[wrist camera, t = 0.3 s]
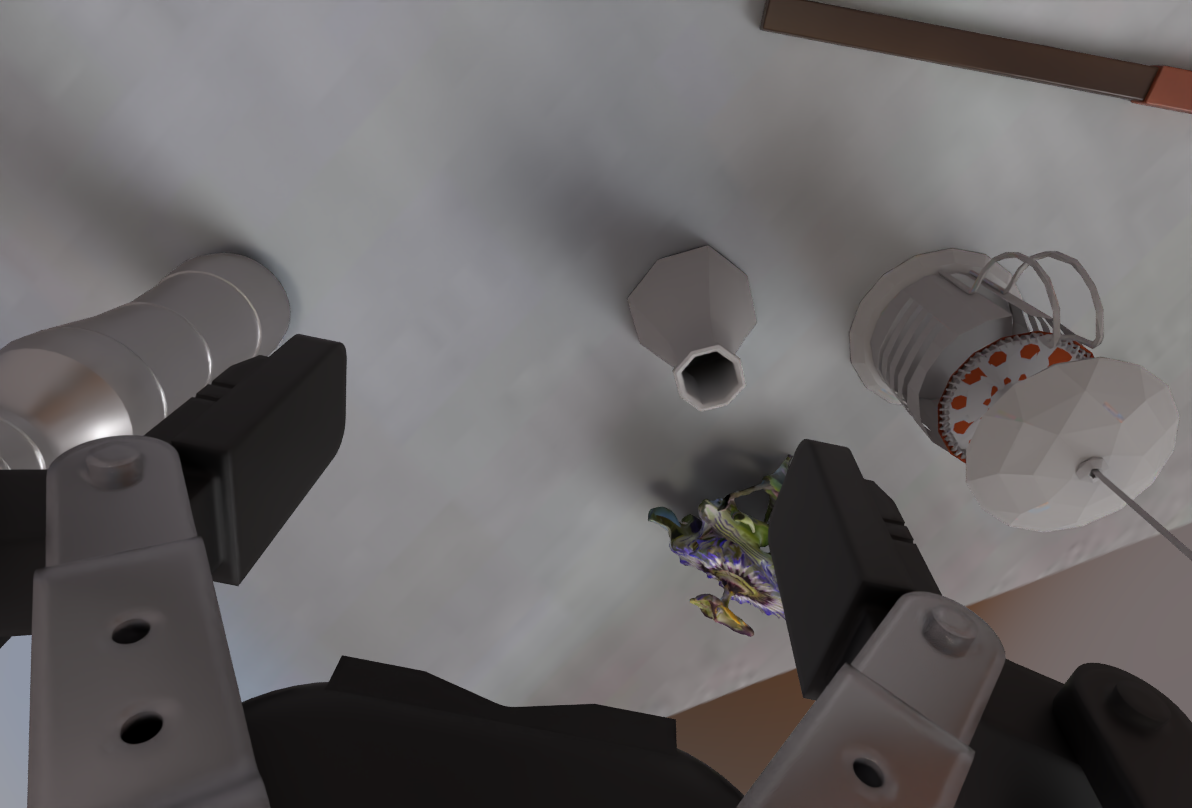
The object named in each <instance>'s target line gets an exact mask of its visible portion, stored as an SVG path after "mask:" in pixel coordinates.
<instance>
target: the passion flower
mask: <svg viewBox="0 0 1192 808" xmlns="http://www.w3.org/2000/svg"><path fill="white" fill-rule="evenodd" d="M791 458H792V456H791V455H788V457H787V458H786V459H785V460H784V461H783V463H782V464H781V466H780V467H779V468H778V469H777V470H776V471H775V472H774V474H771V475H767V476H764V478H763V482H762V483H761V484H759V485H756V486H752V487H750V488H748V489H745V490H742V491H736V492H734V493H731V494H729V495H727V496H726V497H725V498H724V499H722V498H717V499H716V500H714V501H712V500H708V499H705V500H703V501H702V503H700V505H699V507H698V511H699V516H700V517H701V519H702V521H701V520H700V519H698V518H697V517H695V516H693V515H691V514H689V515H687V516H685V517H684V518H683V519H682V521H681V522H682V524H681V523H680V522H679V521H678V520H677V517H676V516H675V514H674V513H673V512H672V511H671V510H669V509H667V508H664V507H657V508H653V509H651V510H650V511H649V514H648V521H651V522H654V523H656V524H659V525H660V526H662V527H663V528H664V529H666V530H667V531H668V533H669V537H670V544H669V547H670V549H671V551H673V552H674V553H675V554H677V555H679V557H680V563H682V564H684V565H685V566H688V565H689V566H693V567H696V568H697V569H698V570H702V571H703V572H705V573H706V574H707V577H708V578H714V579H716V580H718V581H719V586H721V587H723V588H724V593H723V596H722V598H721V599H719V598H717V597H715V596H713V595H711V594H701V595H698V596H697V597H696V598H691V599H690V602H691V603H692V604H695V605H697V606H698V607H700V610H701V611H702V613H703V614H704V615H705V616H706V617H708V618H710V619H713V620H714V621H715V622H718V623H720V624H723V625H725V626H727V627H729V628H730V629H732V630H733V631H735V632H738V633H740V634H744V635H747V636H750V637H751V636H753V635H754V631H753V629H752V628H751V627H750V626H748V625H747V624H746V623H745V622H744V621H743V620H742V619H740V618H739V617H737V616H736V615H735V614H733V612H731V611H730V610H729V609H728V603H729V599H731V600H735V601H737V602H738V603H740V604H742V603H746V602H747V603H750V605H751V603H752V604H753V605H754V606H755V607H757V608H759V609H760V611H761V612H762V613H765V614H767V615H771V614H774V615H776V616H777V617H778V618H779V619H780V616H781V617H782V618H784V619H785V616H784V610H783V606H782V601H781V597H780V593H779V588H778V584H777V579H776V575H775V570H774V566H773V562H772V557H771V553H766V552H763V551H762V550H760V547H766V546H767V545H769V543H768V528H769V524H767V521H768V519H769V517H770V514H771V512H772V510H773V507H774V504H775V502H776V499H777V497H778V494H779V492H780V489H781V487H782V484H783V482H784V479H785V477H786V474H787V471H788V462H789V461H790V459H791ZM760 489H764V491H765V492H766V493H767V494H768V495H769V499H770V500H769V505H768V509H767V512H766V514H765V520H764V522H762V521H759V520H757V519H755V518H753V517H752V516H747V515H746V514H744V513H742V512H740V511H739V510H738V509H737V507H736V504H735V502H734V498H738V497H739V496H741V495H748V494H750V493H751V492H754V491H757V490H760ZM785 620H786V619H785Z"/></svg>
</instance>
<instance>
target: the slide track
mask: <svg viewBox="0 0 1192 808" xmlns="http://www.w3.org/2000/svg"><path fill="white" fill-rule="evenodd" d="M760 30H763V31H768V32H773V33H778V34H784V35H789V36H794V37H800V38H805V39H810V40H815V41H821V42H826V43H831V44H837V45H842V46H847V47H852V48H858V49H863V50H868V51H874V52H879V53H884V54H889V55H895V56H900V57H905V58H911V59H916V60H921V61H926V62H932V63H937V64H942V65H948V66H953V67H958V68H963V69H969V70H974V71H979V72H985V73H990V74H995V75H1000V76H1006V77H1011V78H1016V79H1022V80H1027V81H1032V82H1037V83H1043V84H1048V85H1053V86H1058V87H1064V88H1069V89H1074V90H1080V91H1085V92H1090V93H1095V94H1101V95H1106V96H1111V97H1117V98H1122V99H1127V100H1131V102H1132V103H1136V104H1141V105H1146V106H1152V107H1157V108H1162V109H1168V110H1173V111H1178V112H1183V113H1189V114H1192V71H1191V70H1185V69H1180V68H1175V67H1170V66H1165V65H1149V66H1148V65H1143V64H1138V63H1133V62H1127V61H1122V60H1117V59H1112V58H1107V57H1101V56H1096V55H1091V54H1086V53H1080V52H1075V51H1070V50H1065V49H1060V48H1054V47H1049V46H1044V45H1039V44H1033V43H1028V42H1023V41H1018V40H1012V39H1007V38H1002V37H997V36H992V35H986V34H981V33H976V32H971V31H965V30H960V29H955V28H950V27H944V26H939V25H934V24H929V23H924V22H918V21H913V20H908V19H903V18H897V17H892V16H887V15H882V14H877V13H871V12H866V11H861V10H856V9H850V8H845V7H840V6H835V5H829V4H824V3H819V2H814V1H809V0H766V3H765V7H764V11H763V16H762V20H761V24H760Z"/></svg>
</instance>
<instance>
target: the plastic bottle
mask: <svg viewBox="0 0 1192 808" xmlns="http://www.w3.org/2000/svg"><path fill="white" fill-rule="evenodd" d="M289 323H290V305H289V300H288V298H287V295H286V292H285V290H284V289H283V287H282V285H281V283H280V282H279V281H278V280H277V278H276V277H275V276H274V275H273V274H272V273H271V272H270V271H269V270H268V269H267V268H265V267H264V266H263V265H261V264H260V263H258V262H256V261H255V260H253V259H250V258H248V257H245V256H243V255H238V254H234V253H216V254H210V255H203V256H197V257H194V258H192V259H189V260H187V261H185V262H184V263H182V264H181V265H179V266H178V267H177V268H175V269H174V270H173V271H171V272H170V273H169V274H167V275H166V276H165V277H164V278H163V279H162V280H161V281H160V282H159V284H158V285H156V286H155V287H153V288H152V289H150V290H148V291H147V292H145V293H144V294H142V295H141V296H139V297H138V298H136V299H135V300H133V301H131V302H129V303H127V304H124V305H122V306H119V307H117V308H114V309H112V310H109V311H107V312H104V313H102V314H99V315H97V316H94V317H90V318H86V319H82V320H79V321H75V322H71V323H67V324H63V325H60V326H56V327H52V328H49V329H45V330H41V331H38V332H36V333H33V334H30V335H27V336H24V337H22V338H19V339H16V340H14V341H11V342H10V343H9V344H7V345H6V346H5V347H3V348H2V349H1V350H0V470H12V469H48V468H49V466H50V464H51V463H52V462H53V461H54V460H55V459H56V458H57V457H58V456H59V455H61V454H62V453H64V452H65V451H67V450H69V449H70V448H73V447H75V446H77V445H79V444H82V443H85V442H88V441H91V440H95V439H99V438H104V437H110V436H120V435H139V436H143V435H145V434H146V433H147V432H148V431H150V430H151V429H152V428H154V427H155V426H156V425H157V424H159V423H160V422H161V421H162V420H164V419H165V418H166V417H167V416H169V415H170V414H171V413H172V412H174V411H175V410H176V409H177V408H179V407H180V406H181V405H182V404H184V403H185V402H186V401H187V400H189V399H190V398H191V397H196V393H197V392H199V391H200V390H201V389H202V388H204V387H205V386H206V385H207V384H211V383H212V380H214V379H215V378H216V377H217V376H219V375H220V374H221V373H222V372H224V371H225V370H226V369H227V368H229V367H230V366H231V365H234V364H237V363H240V362H242V361H245V360H248V359H250V358H253V357H256V356H258V355H263V356H268V355H270V354H271V353H272V351H273V350H274V349H275V348H276V347H277V346H278V344H279V343H280V341H281V339H282V338H283V336H284V335H285V333H286V331H287V329H288V326H289Z"/></svg>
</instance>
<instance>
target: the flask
mask: <svg viewBox="0 0 1192 808" xmlns="http://www.w3.org/2000/svg"><path fill="white" fill-rule="evenodd" d="M627 300H628V303H629V307H630V310H631V314H632V317H633V320H634V324H635V327H636V331H637V334H638V337H639V341H640V344H642V345H643V346H644V347H646V348H647V349H649V350H650V351H651V352H653V353H654V354H656V355H657V356H658V357H660V358H661V359H663V360H664V361H665V362H667V363H668V364H670V365H671V366H672V367H674V369H673V374H674V377H675V381H676V385H677V388H678V392H679V395H680V397H681V398H682V399H684V400H685V401H687V402H688V403H690V404H691V405H692V406H694V407H695V408H697V409H698V410H699V411H705V410H710V409H714V408H718V407H722V406H726V405H728V404H729V403H730V402H731V401H732V400H733V399H734V398H735V397H736V396H737V395H738V394H739V393H740V391H741V390H742V389H743V388H744V387H745V386H746V382H745V378H744V373H743V369H742V364H741V360H740V358H739V357H738V356H736V355H735V354H736V352H737V351H738V349H739V347H740V346H741V344H742V343H743V341H744V339H745V338H746V337H747V335H748V334H749V333H750V331H751V330H752V329H753V328H754V326H755V325H756V323H757V319H756V314H755V309H754V305H753V300H752V295H751V291H750V286H749V281H748V276H747V275H746V274H745V273H743V272H742V271H741V270H739V269H738V268H737V267H736V266H734V265H733V264H732V263H730V262H729V261H728V260H727V259H725V258H724V257H723V256H721V255H720V254H719V253H718V252H716V251H715V250H714V249H712V248H711V247H710V246H709V245H708V246H704V247H701V248H697V249H694V250H690V251H687V252H683V253H680V254H676V255H673V256H669V257H666V258H662V259H659V260H657V262H656V263H655V264H654V266H653V267H652V268H651V269H650V271H649V272H648V273H647V274H646V276H645V277H644V278H643V279H642V281H641V282H640V283H639V285H638V286H637V287H636V288H635V290H634V291H633V292H632V293H631V295H630V296H629V297H628V298H627Z"/></svg>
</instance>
